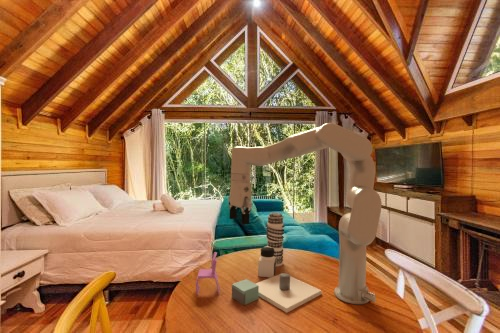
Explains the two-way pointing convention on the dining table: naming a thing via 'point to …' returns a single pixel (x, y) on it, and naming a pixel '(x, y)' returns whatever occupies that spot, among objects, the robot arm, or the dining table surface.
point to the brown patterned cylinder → (275, 235)
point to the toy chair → (208, 273)
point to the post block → (286, 292)
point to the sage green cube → (245, 291)
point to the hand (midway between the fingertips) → (238, 221)
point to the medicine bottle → (267, 263)
